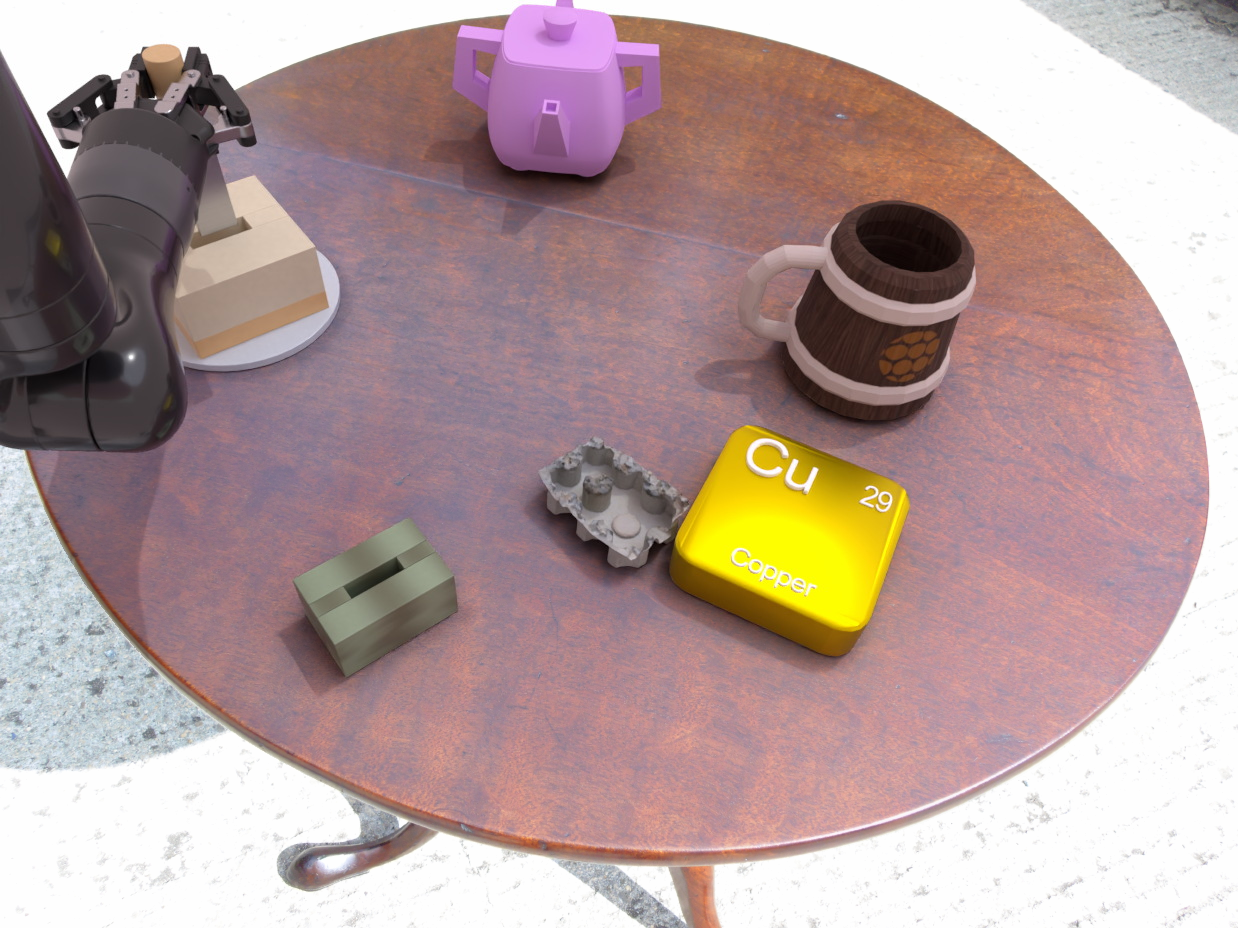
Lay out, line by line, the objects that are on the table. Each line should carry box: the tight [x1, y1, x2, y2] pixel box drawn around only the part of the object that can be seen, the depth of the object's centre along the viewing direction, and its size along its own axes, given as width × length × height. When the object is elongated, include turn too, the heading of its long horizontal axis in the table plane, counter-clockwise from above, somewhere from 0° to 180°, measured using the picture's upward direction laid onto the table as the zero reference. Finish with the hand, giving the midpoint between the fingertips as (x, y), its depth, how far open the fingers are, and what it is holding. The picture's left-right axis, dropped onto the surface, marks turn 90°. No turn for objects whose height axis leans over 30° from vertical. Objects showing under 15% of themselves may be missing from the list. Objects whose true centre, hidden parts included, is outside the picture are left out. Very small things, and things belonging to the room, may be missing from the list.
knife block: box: [292, 516, 459, 678], centre depth 64 cm, size 9×6×5 cm, turn 128°
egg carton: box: [538, 435, 691, 569], centre depth 72 cm, size 11×8×4 cm
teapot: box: [451, 0, 662, 178], centre depth 98 cm, size 19×18×15 cm
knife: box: [142, 43, 238, 237], centre depth 72 cm, size 4×3×16 cm
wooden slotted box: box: [174, 174, 329, 359], centre depth 81 cm, size 12×12×7 cm
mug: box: [737, 199, 977, 421], centre depth 80 cm, size 20×15×15 cm
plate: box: [174, 248, 342, 373], centre depth 84 cm, size 18×18×1 cm
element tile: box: [668, 424, 911, 657], centre depth 71 cm, size 15×15×5 cm
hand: (175, 59), depth 69 cm, fingers closed on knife, 2 cm apart
